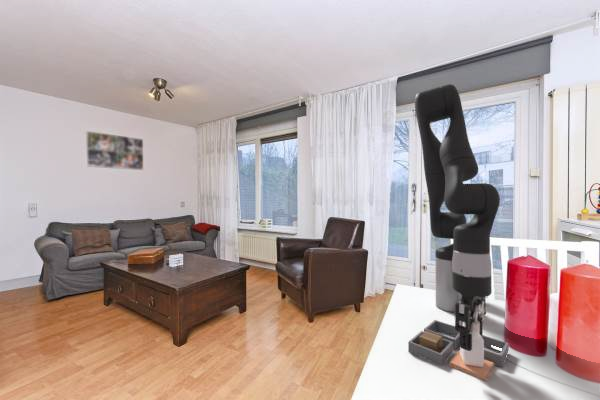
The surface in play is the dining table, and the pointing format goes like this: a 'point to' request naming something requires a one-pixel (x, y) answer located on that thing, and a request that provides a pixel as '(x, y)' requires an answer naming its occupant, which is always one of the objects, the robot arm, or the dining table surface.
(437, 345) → the walnut cube
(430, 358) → the bin with cube
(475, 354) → the salt shaker
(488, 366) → the terracotta pad
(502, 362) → the shaker bin
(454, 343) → the empty bin
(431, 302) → the dining table surface
